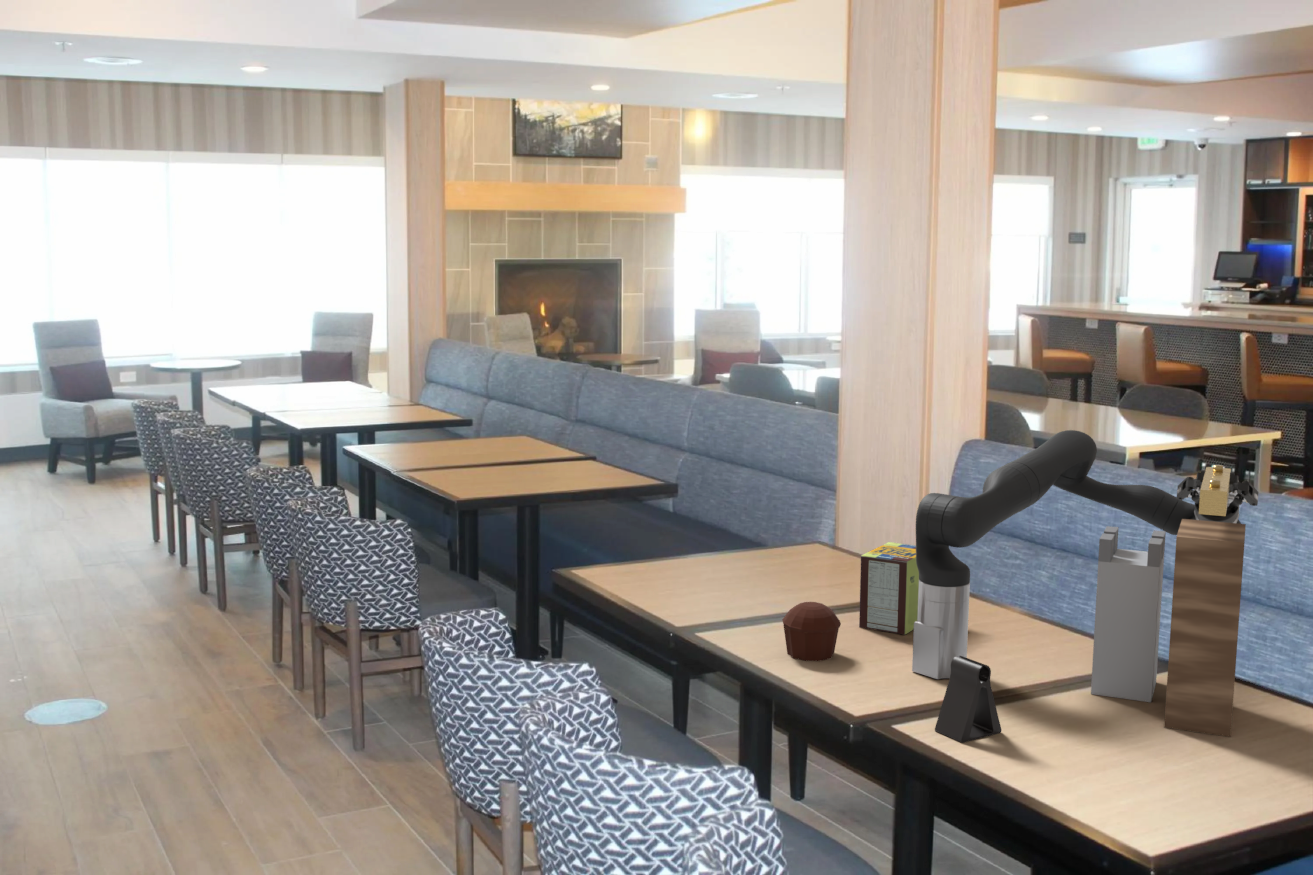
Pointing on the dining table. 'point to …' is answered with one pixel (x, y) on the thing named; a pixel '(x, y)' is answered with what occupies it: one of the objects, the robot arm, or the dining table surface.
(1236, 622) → the stand
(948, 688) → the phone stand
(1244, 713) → the dining table surface
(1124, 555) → the post
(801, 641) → the muffin
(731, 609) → the dining table surface
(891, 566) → the protein box
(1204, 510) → the gold studded block
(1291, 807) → the dining table surface
